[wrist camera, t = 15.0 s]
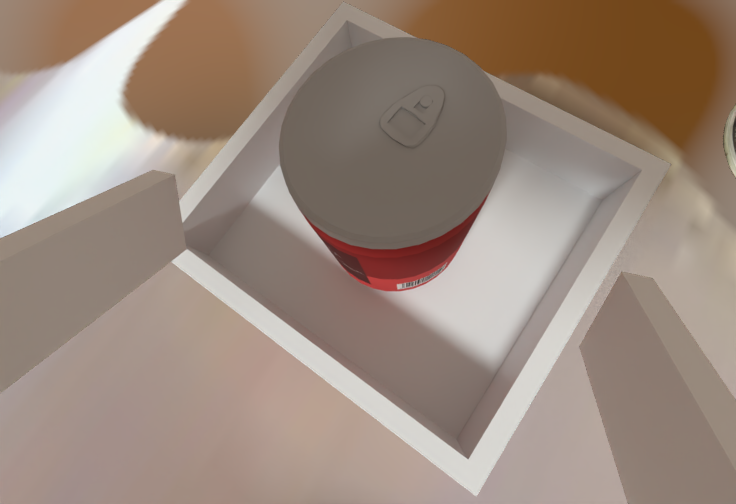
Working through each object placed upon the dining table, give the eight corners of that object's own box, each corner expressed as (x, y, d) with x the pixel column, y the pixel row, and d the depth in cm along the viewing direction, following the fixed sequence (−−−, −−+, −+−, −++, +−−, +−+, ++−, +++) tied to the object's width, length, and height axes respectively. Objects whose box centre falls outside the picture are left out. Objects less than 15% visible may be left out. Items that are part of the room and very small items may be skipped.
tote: (195, 263, 25) (145, 242, 21) (353, 61, 28) (343, 1, 23) (460, 463, 21) (476, 496, 16) (617, 202, 24) (671, 164, 19)
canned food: (482, 198, 24) (545, 73, 13) (427, 317, 22) (448, 287, 12) (369, 152, 25) (343, 6, 14) (311, 261, 24) (234, 189, 13)
